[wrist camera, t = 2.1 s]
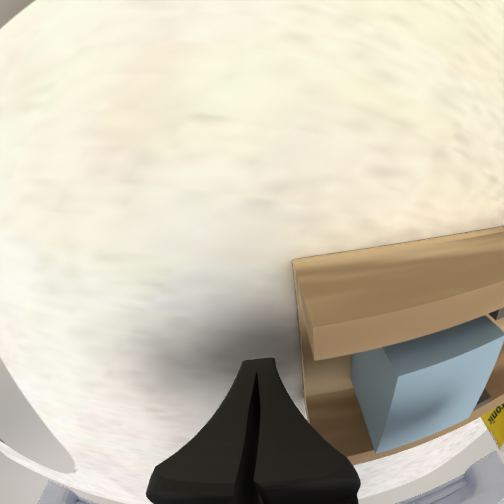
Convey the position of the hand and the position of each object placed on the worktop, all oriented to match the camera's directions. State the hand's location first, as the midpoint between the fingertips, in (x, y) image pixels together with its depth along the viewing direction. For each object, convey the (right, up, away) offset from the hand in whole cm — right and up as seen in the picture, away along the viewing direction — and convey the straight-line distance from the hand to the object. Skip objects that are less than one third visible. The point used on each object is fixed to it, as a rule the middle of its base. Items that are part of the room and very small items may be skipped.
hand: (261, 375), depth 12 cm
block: (+7, +1, +1) cm, 7 cm away
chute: (+11, +2, +1) cm, 12 cm away
